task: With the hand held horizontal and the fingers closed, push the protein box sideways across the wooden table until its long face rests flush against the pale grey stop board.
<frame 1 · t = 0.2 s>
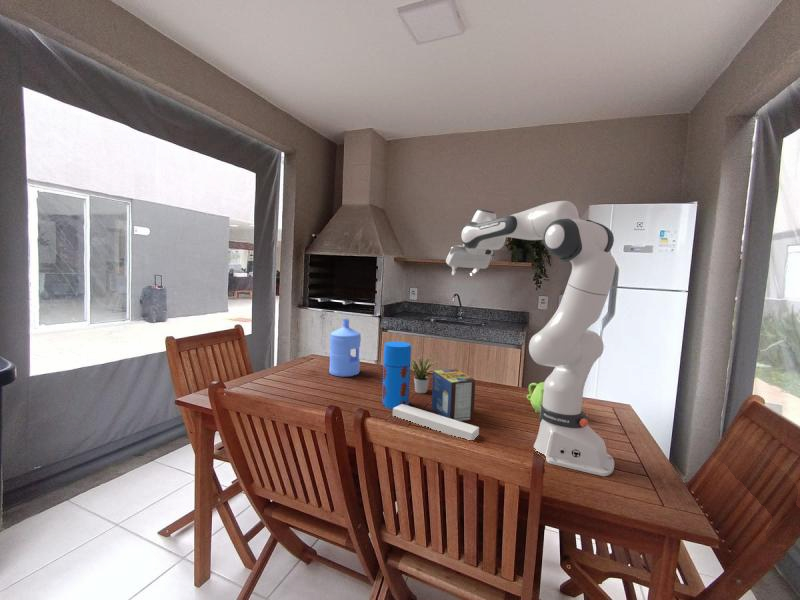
hand: (462, 275, 160), 53 cm above the table, tool tilted 25°, fingers open, 8 cm apart
board: (433, 425, 131), on the table
water jug: (344, 373, 190), on the table
protein box: (451, 414, 142), on the table
thermos: (395, 405, 149), on the table
teapot: (546, 412, 147), on the table
house plant: (423, 391, 167), on the table
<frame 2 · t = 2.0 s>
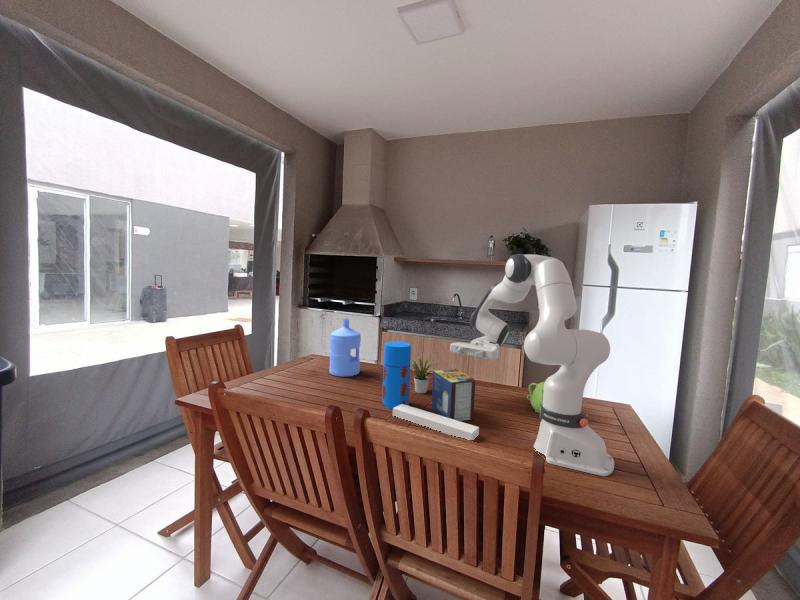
hand: (466, 353, 148), 22 cm above the table, tool horizontal, fingers open, 6 cm apart
nothing on the table moved.
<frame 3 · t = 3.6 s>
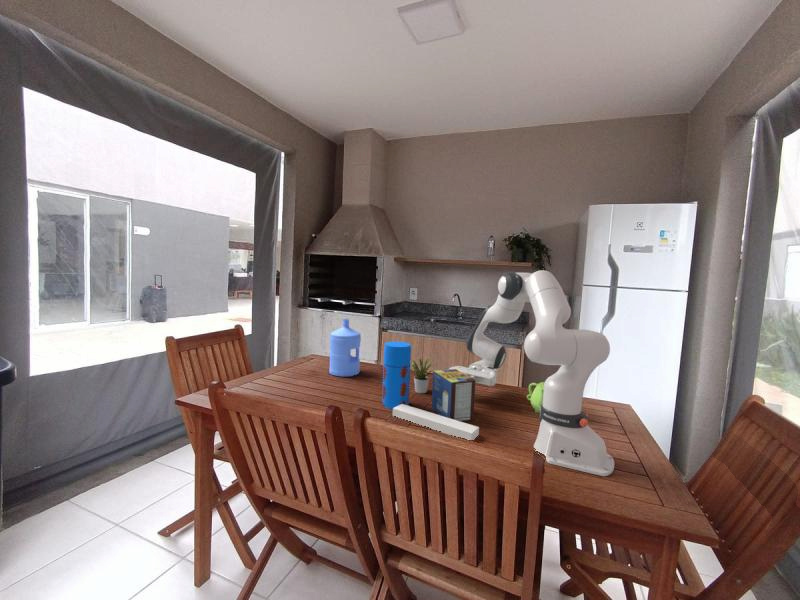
hand: (464, 379, 150), 11 cm above the table, tool horizontal, fingers closed
nothing on the table moved.
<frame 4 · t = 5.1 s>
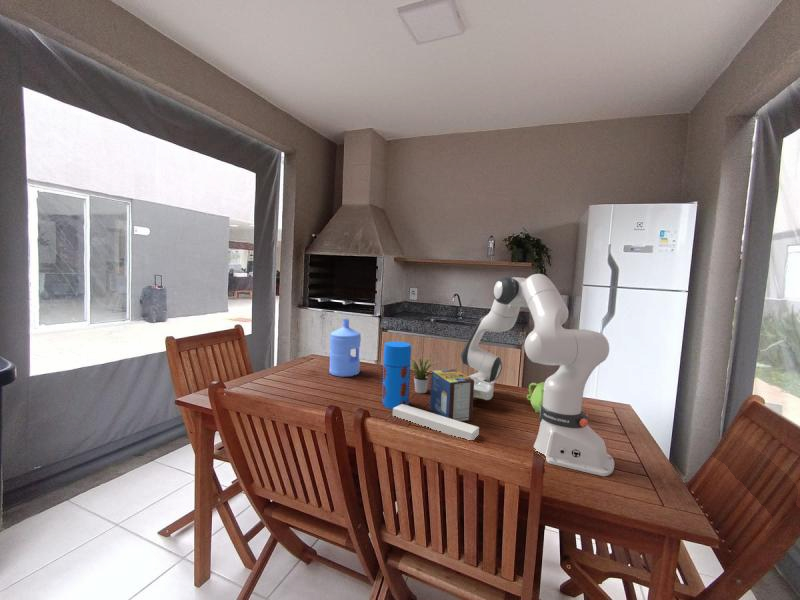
hand: (459, 393, 147), 6 cm above the table, tool horizontal, fingers closed
nothing on the table moved.
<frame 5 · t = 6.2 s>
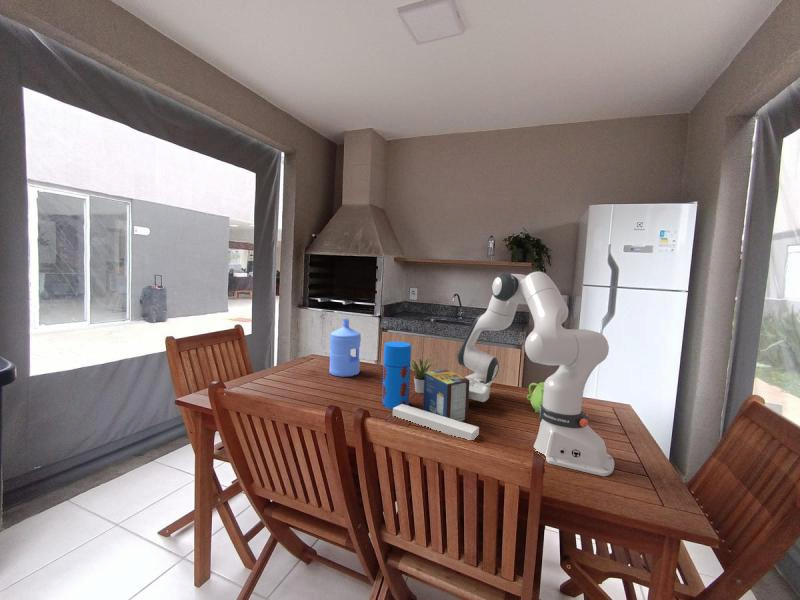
hand: (454, 395, 144), 6 cm above the table, tool horizontal, fingers closed
protein box: (444, 415, 140), on the table, touching board, gripper
everything else where it was.
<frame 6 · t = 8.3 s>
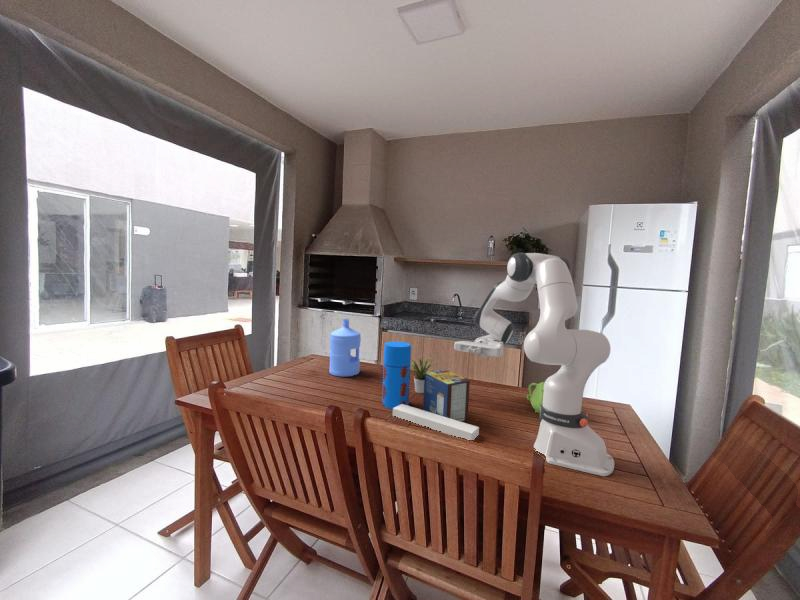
hand: (470, 351, 148), 23 cm above the table, tool horizontal, fingers closed
protein box: (444, 416, 140), on the table
everything else where it was.
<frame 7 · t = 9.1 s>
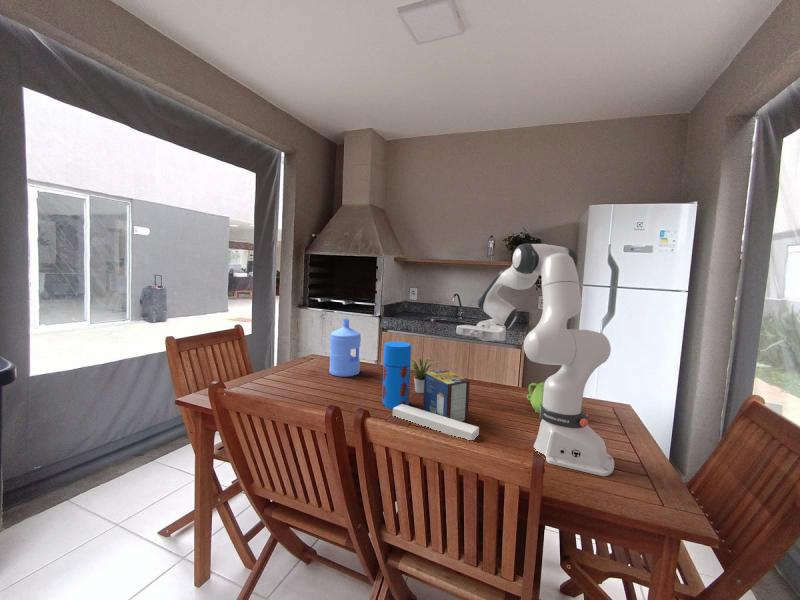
hand: (472, 334, 147), 30 cm above the table, tool horizontal, fingers closed
nothing on the table moved.
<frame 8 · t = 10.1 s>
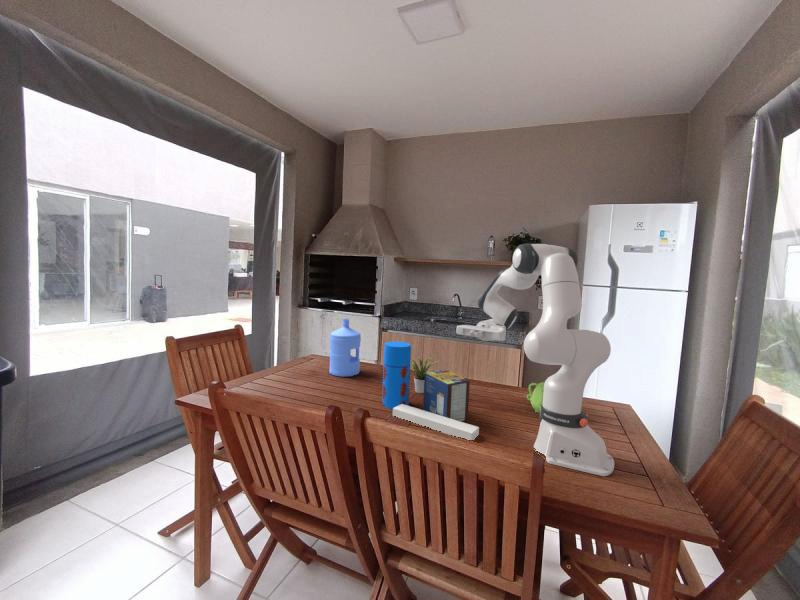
hand: (472, 334, 147), 30 cm above the table, tool horizontal, fingers closed
nothing on the table moved.
at the end: protein box inside the target area on the table beside the board (2.3 cm from its centre), on the table; protein box tilted 0°; protein box moved 3.6 cm from its start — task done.
